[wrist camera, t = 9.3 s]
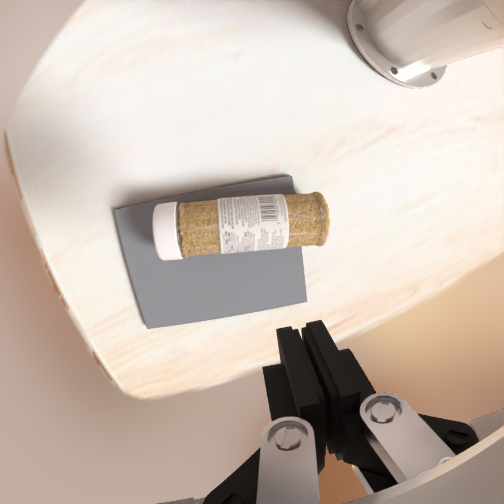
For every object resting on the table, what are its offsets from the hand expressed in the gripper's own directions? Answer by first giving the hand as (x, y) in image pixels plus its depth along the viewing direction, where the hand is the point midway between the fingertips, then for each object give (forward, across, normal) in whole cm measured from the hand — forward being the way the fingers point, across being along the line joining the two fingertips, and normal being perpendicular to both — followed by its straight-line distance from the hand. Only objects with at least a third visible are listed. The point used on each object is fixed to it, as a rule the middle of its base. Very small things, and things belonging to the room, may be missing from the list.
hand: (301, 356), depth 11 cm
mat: (+17, +4, +1) cm, 18 cm away
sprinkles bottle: (+15, -6, -2) cm, 16 cm away
